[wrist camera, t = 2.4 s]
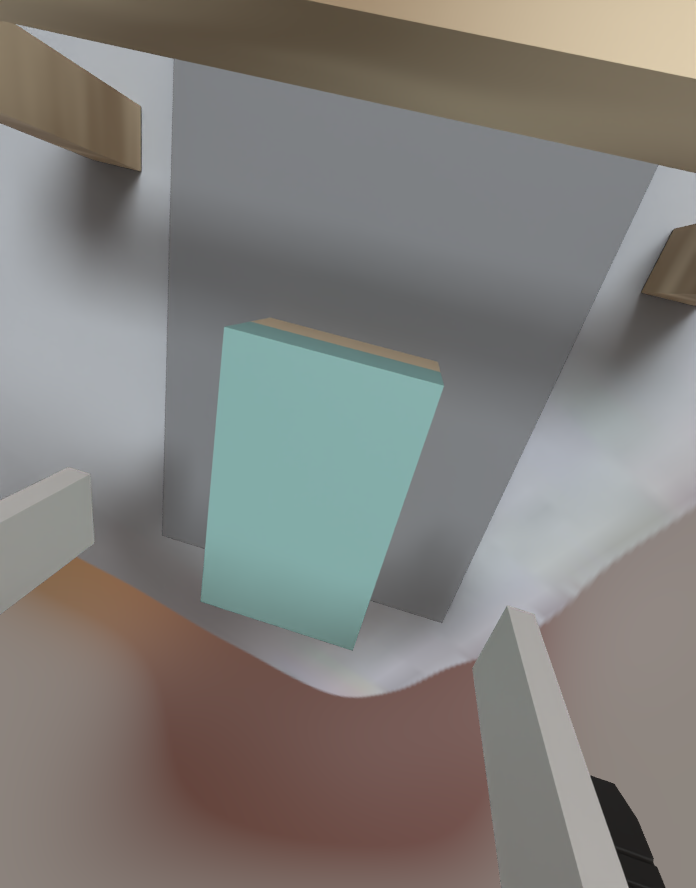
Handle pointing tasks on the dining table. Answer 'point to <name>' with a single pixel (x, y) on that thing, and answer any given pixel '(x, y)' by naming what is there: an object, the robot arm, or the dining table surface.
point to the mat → (383, 282)
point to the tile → (310, 473)
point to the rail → (390, 72)
